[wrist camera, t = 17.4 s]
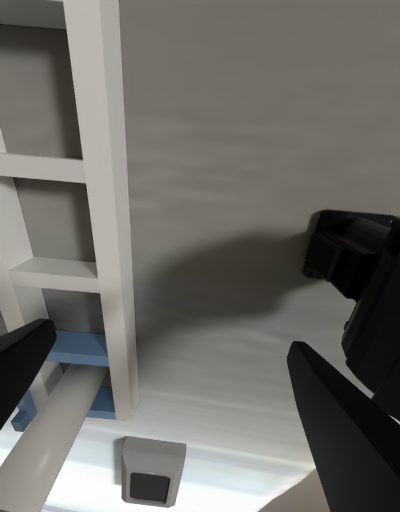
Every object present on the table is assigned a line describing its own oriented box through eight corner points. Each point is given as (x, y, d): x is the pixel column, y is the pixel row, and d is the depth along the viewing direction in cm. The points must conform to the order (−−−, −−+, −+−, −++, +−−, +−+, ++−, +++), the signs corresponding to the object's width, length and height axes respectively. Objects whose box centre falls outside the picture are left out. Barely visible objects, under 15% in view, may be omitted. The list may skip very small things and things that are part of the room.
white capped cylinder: (76, 348, 27) (-46, 521, 14) (112, 359, 27) (25, 536, 14) (71, 371, 28) (-43, 544, 16) (104, 381, 29) (21, 556, 16)
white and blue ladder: (104, -278, 10) (10, -668, 5) (138, 397, 30) (125, 442, 25) (-172, -301, 10) (-507, -707, 5) (46, 388, 30) (15, 431, 25)
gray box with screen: (118, 507, 37) (118, 462, 31) (126, 478, 40) (127, 433, 34) (173, 514, 37) (184, 470, 31) (176, 485, 41) (186, 440, 35)
